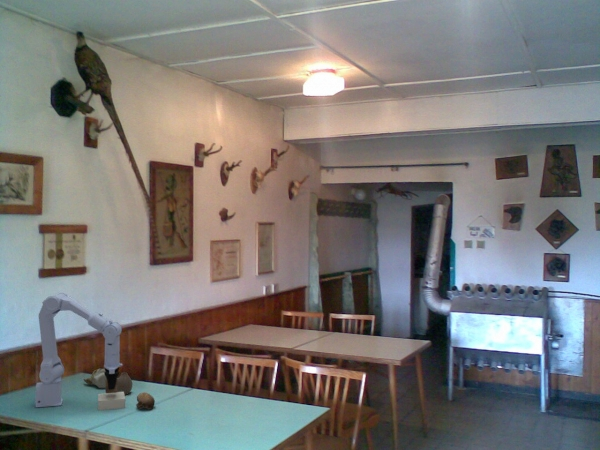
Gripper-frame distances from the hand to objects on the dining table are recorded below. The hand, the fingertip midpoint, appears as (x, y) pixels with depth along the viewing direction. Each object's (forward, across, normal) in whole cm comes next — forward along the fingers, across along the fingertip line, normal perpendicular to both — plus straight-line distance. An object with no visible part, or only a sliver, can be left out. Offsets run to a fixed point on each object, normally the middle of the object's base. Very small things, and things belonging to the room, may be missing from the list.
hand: (111, 387), depth 233 cm
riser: (+8, 0, 0) cm, 8 cm away
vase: (+7, +15, -5) cm, 17 cm away
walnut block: (+2, 0, 0) cm, 2 cm away
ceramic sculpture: (+8, +30, +5) cm, 31 cm away
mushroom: (+8, -7, -13) cm, 17 cm away
